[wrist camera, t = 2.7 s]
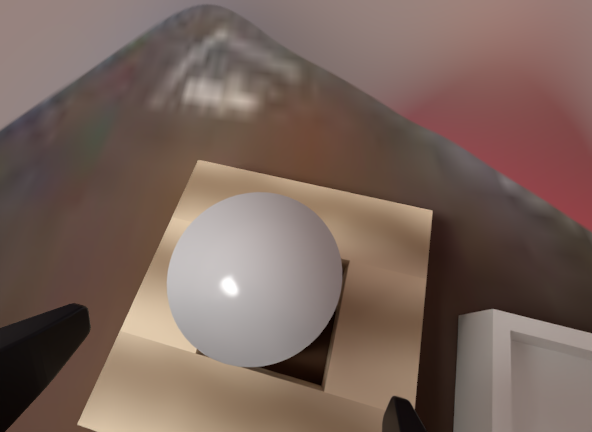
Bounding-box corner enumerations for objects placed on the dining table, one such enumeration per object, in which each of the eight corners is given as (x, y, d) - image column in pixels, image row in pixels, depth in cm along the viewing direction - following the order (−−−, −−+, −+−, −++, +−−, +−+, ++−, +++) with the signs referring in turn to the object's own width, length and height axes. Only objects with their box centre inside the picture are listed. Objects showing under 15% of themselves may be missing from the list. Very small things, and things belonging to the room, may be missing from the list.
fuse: (310, 366, 17) (321, 394, 7) (227, 341, 18) (134, 337, 8) (329, 279, 19) (357, 211, 9) (253, 260, 19) (204, 177, 10)
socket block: (387, 507, 14) (403, 537, 12) (109, 413, 16) (77, 424, 14) (417, 225, 20) (432, 210, 18) (209, 179, 22) (198, 159, 20)
